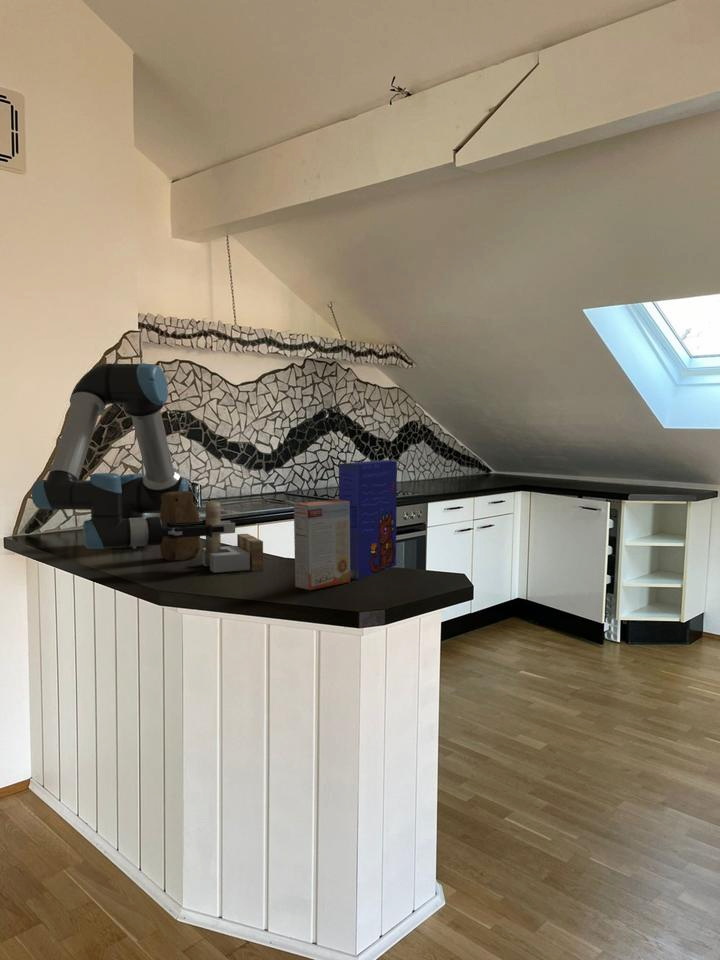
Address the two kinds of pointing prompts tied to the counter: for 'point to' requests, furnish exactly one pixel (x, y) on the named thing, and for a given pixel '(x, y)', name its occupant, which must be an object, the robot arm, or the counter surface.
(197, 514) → the block
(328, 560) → the cracker box
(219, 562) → the block
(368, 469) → the cereal box
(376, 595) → the counter surface
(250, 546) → the wall
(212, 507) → the dowel
